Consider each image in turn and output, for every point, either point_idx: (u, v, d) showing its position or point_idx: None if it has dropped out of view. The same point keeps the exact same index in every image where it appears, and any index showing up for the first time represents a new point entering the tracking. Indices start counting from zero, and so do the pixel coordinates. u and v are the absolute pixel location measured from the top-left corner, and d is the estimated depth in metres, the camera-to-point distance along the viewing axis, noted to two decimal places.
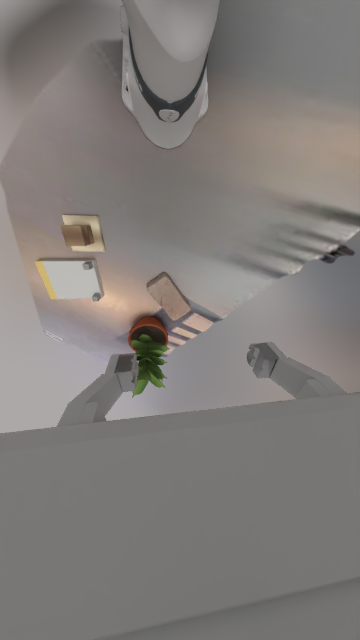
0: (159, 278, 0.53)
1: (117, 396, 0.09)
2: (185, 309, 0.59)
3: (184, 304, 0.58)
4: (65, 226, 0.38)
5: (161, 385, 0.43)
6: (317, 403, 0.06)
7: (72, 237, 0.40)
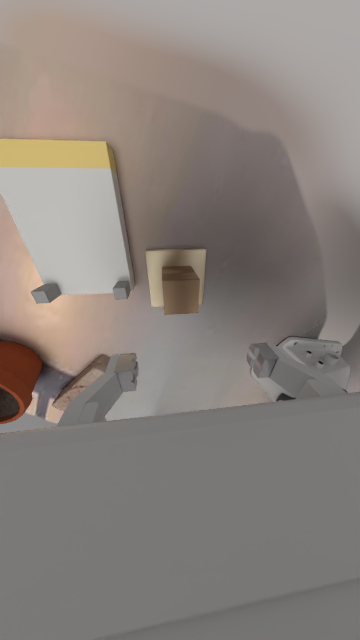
0: None
1: (117, 396, 0.09)
2: None
3: None
4: (197, 288, 0.20)
5: None
6: (317, 403, 0.06)
7: (178, 296, 0.20)
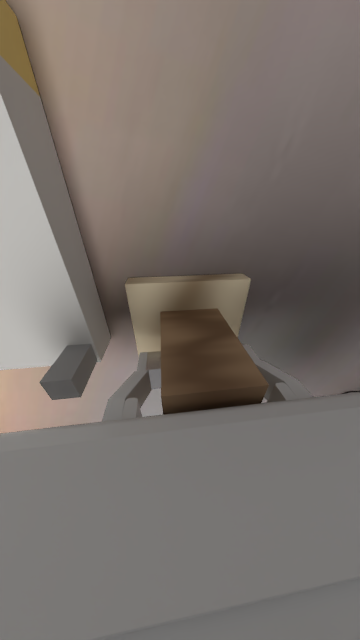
0: None
1: (147, 393, 0.10)
2: None
3: None
4: (257, 399, 0.07)
5: None
6: (317, 403, 0.06)
7: None
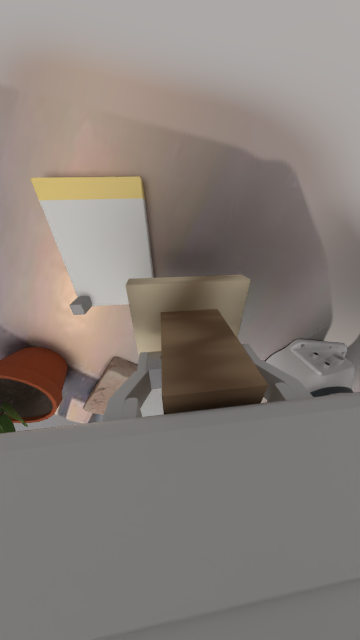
0: None
1: (147, 393, 0.10)
2: None
3: None
4: (256, 399, 0.07)
5: None
6: (317, 403, 0.06)
7: None
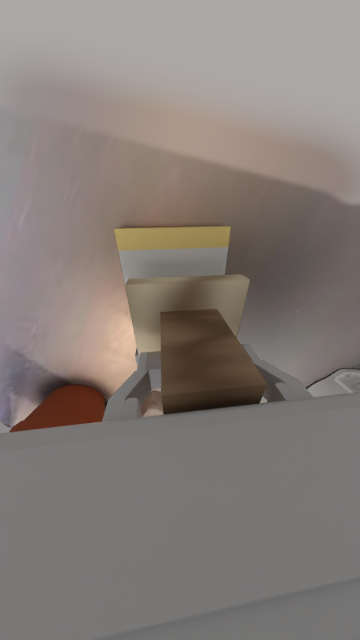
0: None
1: (147, 393, 0.10)
2: None
3: None
4: (255, 398, 0.07)
5: None
6: (317, 403, 0.06)
7: None
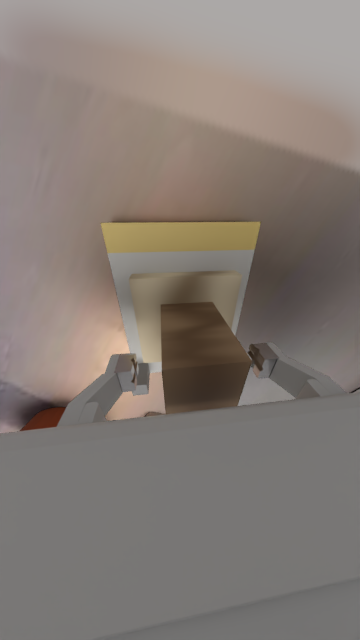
0: None
1: (117, 396, 0.09)
2: None
3: None
4: (242, 375, 0.09)
5: None
6: (317, 403, 0.06)
7: (197, 390, 0.09)
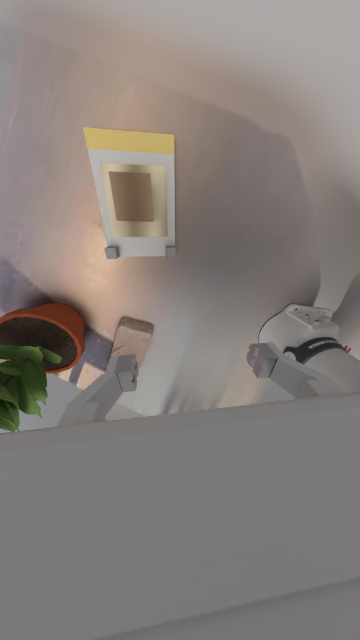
0: (143, 328, 0.38)
1: (117, 396, 0.09)
2: None
3: None
4: (149, 186, 0.18)
5: None
6: (317, 403, 0.06)
7: (128, 194, 0.18)
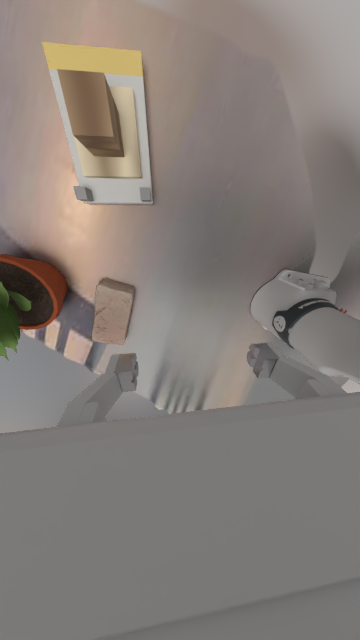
0: (123, 288, 0.37)
1: (117, 396, 0.09)
2: (118, 341, 0.43)
3: (122, 335, 0.42)
4: (104, 90, 0.17)
5: None
6: (317, 403, 0.06)
7: (82, 100, 0.17)
